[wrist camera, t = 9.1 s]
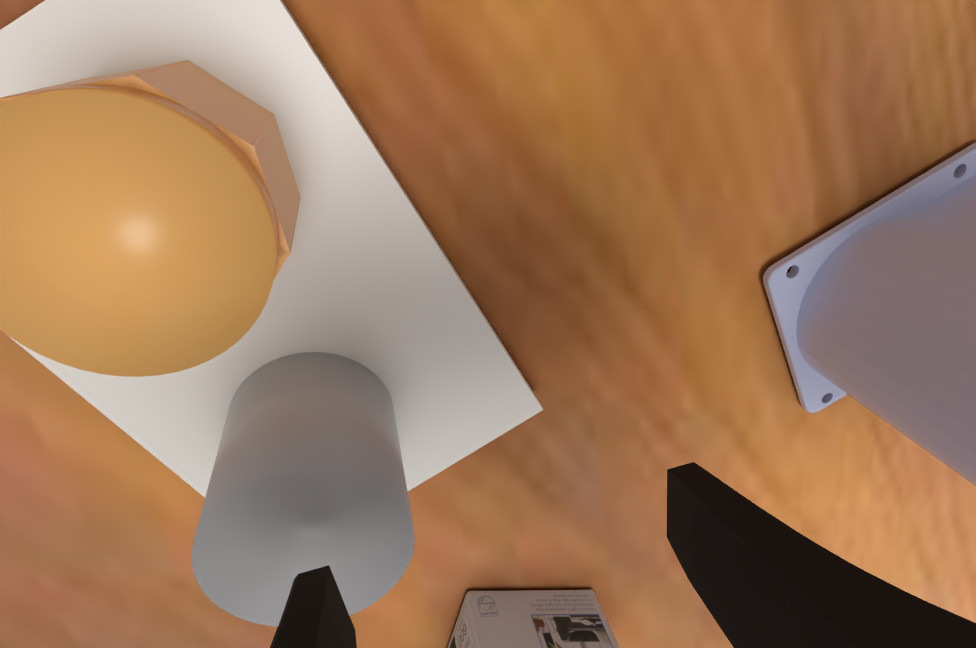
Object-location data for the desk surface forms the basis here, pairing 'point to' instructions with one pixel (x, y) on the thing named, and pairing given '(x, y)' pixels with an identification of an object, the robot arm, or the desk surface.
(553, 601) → the light bulb box
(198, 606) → the desk surface
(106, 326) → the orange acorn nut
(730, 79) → the desk surface
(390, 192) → the plate
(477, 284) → the desk surface
